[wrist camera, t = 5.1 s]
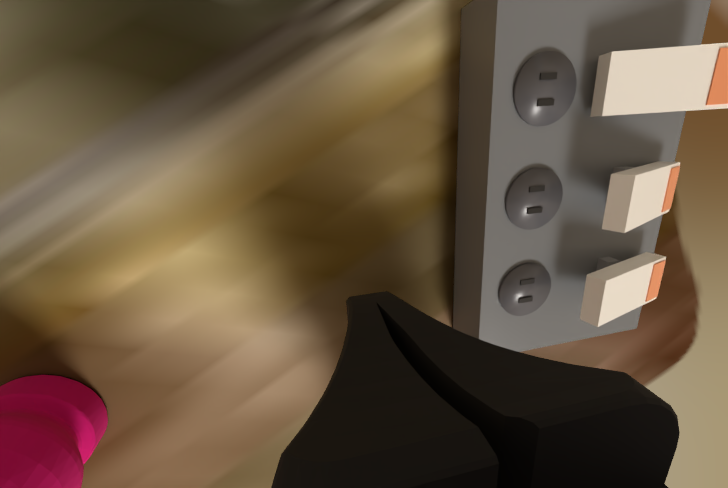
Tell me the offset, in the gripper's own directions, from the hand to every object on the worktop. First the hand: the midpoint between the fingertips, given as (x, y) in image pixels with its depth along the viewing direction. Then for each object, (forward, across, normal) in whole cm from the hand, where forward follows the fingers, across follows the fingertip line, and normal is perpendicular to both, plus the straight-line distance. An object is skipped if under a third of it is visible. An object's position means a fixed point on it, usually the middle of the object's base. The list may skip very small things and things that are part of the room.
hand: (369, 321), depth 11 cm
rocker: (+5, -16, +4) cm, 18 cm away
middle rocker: (+5, -16, -2) cm, 17 cm away
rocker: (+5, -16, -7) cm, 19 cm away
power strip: (+10, -14, -2) cm, 18 cm away
